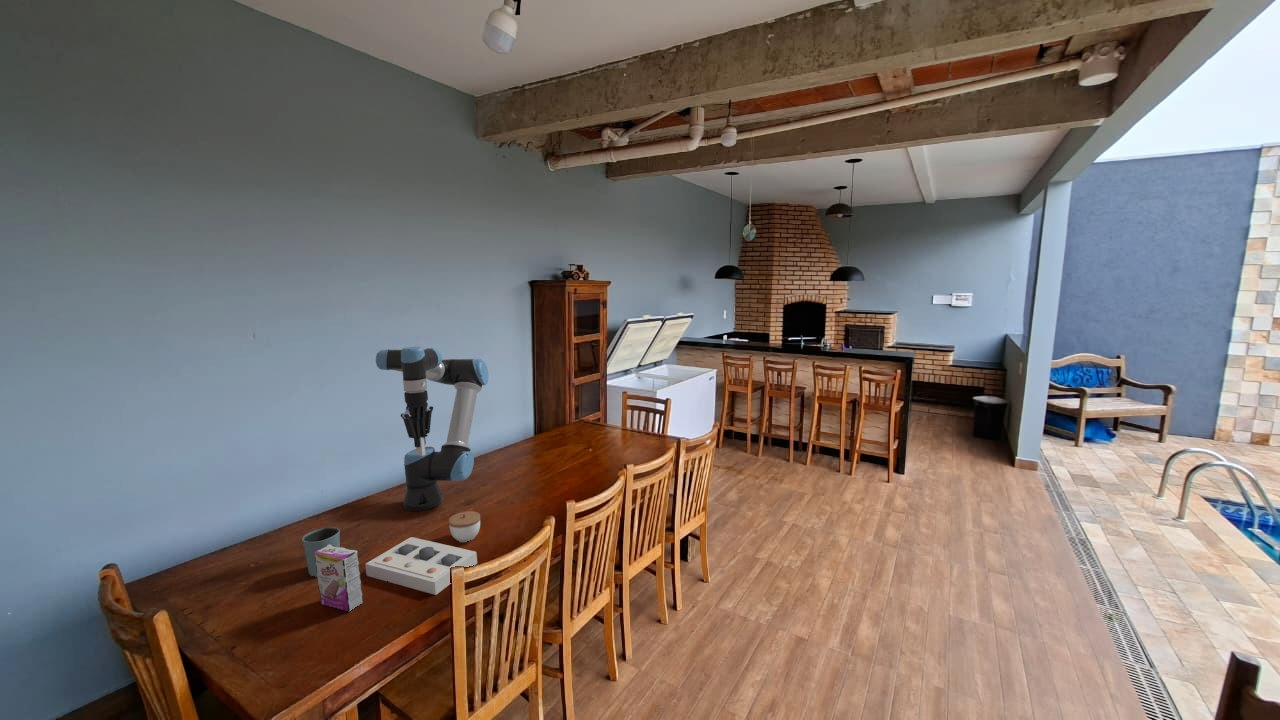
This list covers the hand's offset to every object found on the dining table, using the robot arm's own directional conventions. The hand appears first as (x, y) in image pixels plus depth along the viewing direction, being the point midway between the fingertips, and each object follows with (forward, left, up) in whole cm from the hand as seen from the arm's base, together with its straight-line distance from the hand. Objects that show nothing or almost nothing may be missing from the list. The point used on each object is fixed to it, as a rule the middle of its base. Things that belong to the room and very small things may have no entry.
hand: (421, 454), depth 181 cm
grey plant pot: (+31, -12, -30) cm, 45 cm away
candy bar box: (+42, +10, -30) cm, 52 cm away
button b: (+18, +18, -27) cm, 37 cm away
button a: (+18, +9, -28) cm, 34 cm away
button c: (+18, +27, -28) cm, 43 cm away
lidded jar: (-1, +17, -30) cm, 34 cm away
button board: (+20, +18, -29) cm, 40 cm away
